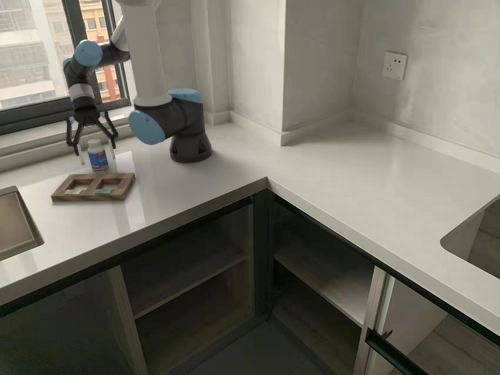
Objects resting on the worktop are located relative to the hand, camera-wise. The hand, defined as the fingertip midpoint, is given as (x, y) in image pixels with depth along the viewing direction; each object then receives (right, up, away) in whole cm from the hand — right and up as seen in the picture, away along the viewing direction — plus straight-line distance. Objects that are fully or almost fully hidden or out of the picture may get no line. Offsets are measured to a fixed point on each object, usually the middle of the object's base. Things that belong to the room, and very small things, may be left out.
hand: (98, 160), depth 121 cm
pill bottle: (-1, -2, +5) cm, 5 cm away
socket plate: (+3, -9, -8) cm, 13 cm away
